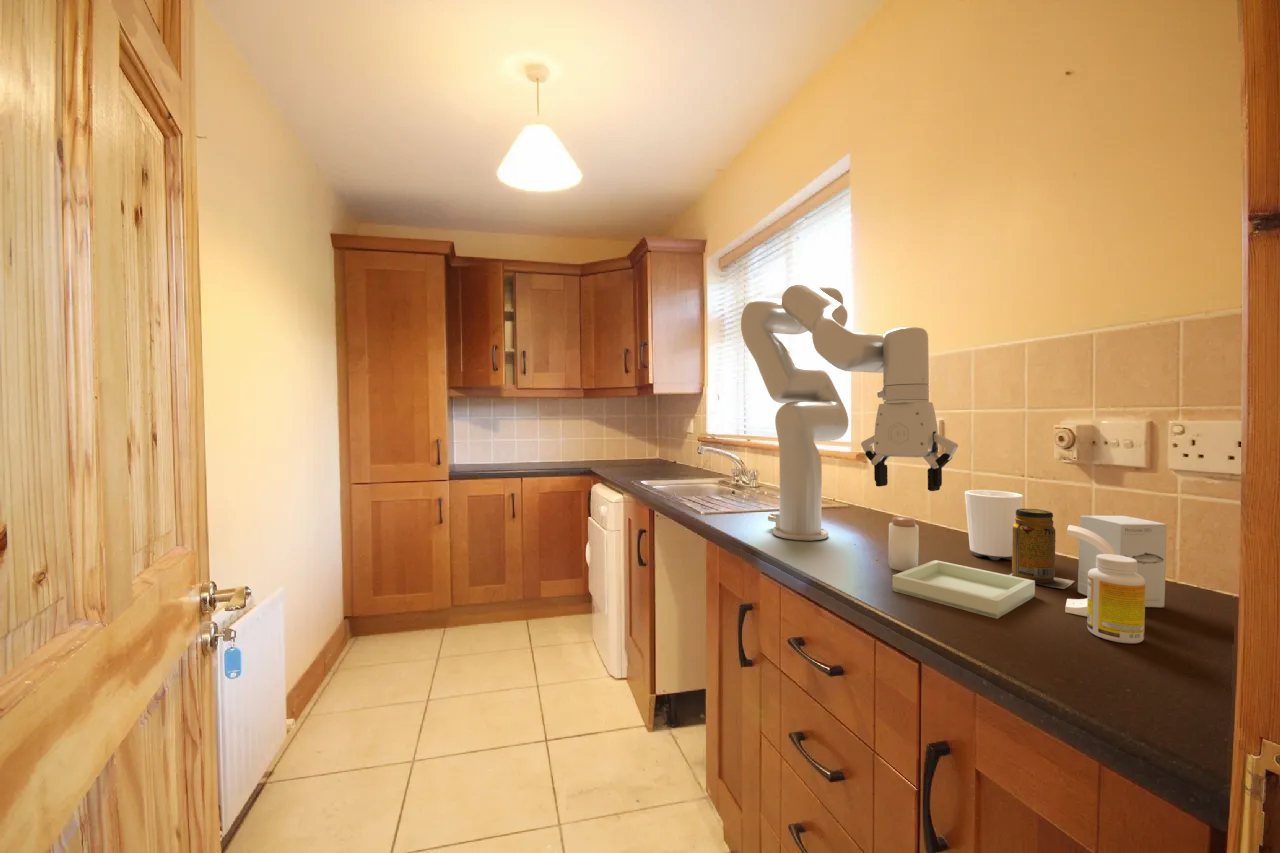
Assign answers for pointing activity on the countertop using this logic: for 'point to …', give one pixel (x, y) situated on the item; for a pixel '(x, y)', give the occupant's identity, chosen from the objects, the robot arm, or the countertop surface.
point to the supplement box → (1128, 551)
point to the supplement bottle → (1116, 599)
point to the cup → (991, 522)
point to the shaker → (903, 543)
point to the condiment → (1035, 548)
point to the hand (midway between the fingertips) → (906, 488)
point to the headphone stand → (1081, 604)
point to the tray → (965, 587)
